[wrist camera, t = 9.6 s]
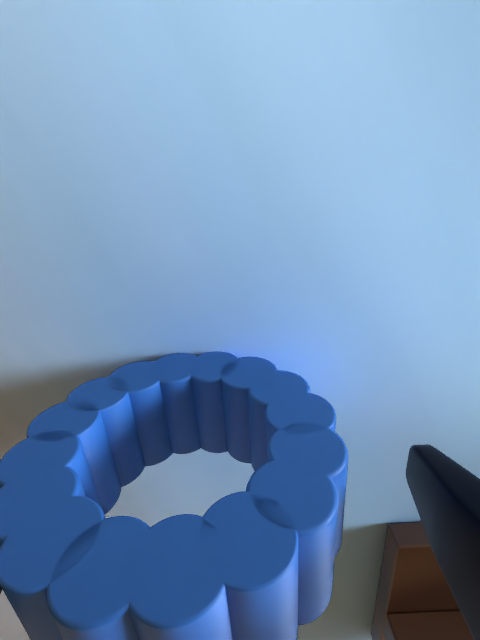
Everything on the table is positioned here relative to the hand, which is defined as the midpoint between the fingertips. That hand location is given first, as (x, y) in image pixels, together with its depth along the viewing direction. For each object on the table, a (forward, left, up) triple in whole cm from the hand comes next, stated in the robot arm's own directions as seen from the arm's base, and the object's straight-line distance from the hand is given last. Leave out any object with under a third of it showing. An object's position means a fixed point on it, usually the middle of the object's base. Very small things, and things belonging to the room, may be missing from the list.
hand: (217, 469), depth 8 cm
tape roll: (0, +1, 0) cm, 1 cm away
